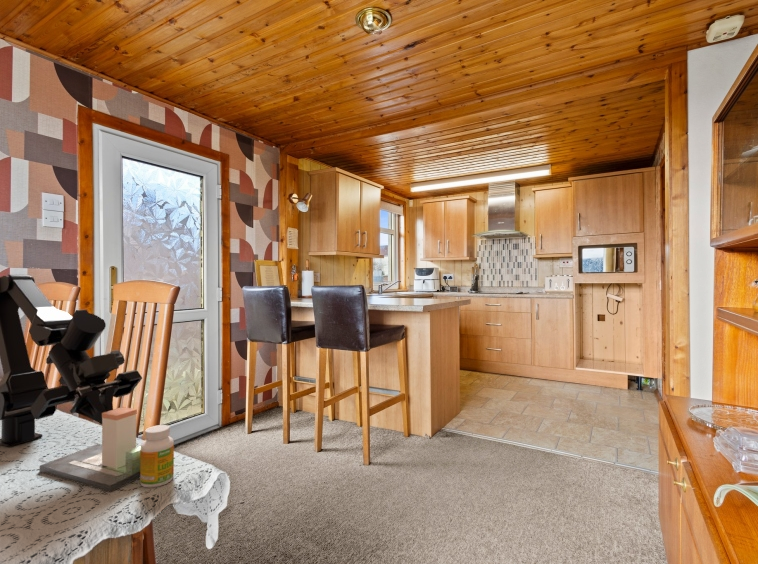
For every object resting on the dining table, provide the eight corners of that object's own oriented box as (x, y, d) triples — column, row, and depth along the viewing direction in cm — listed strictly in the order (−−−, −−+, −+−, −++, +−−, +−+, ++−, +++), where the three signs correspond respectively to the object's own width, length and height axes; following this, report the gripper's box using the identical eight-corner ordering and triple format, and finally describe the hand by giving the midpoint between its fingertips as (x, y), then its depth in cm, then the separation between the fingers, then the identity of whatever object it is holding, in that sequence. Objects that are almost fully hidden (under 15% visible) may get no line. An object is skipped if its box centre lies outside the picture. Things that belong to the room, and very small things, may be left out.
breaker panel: (39, 471, 77) (39, 445, 77) (97, 449, 87) (97, 425, 87) (110, 492, 69) (110, 462, 69) (164, 465, 79) (164, 439, 79)
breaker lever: (101, 465, 77) (101, 413, 77) (122, 456, 80) (122, 406, 80) (116, 468, 75) (116, 415, 75) (136, 459, 79) (136, 409, 79)
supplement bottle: (158, 490, 70) (159, 435, 70) (132, 486, 71) (133, 432, 71) (180, 475, 75) (180, 424, 75) (155, 472, 77) (155, 422, 77)
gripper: (40, 346, 72) (80, 414, 68) (136, 334, 89) (172, 387, 85) (14, 385, 75) (51, 453, 71) (112, 366, 92) (146, 419, 88)
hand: (111, 425), depth 79 cm, fingers closed, pressing on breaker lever
